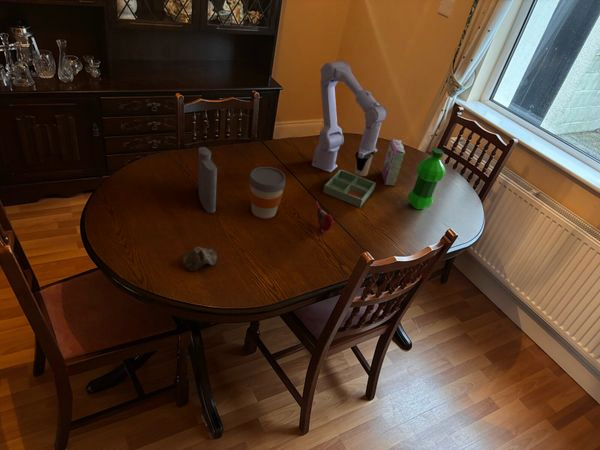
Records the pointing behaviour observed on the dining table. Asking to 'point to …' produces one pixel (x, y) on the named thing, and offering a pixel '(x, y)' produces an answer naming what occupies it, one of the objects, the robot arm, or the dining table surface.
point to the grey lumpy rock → (199, 258)
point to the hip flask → (207, 180)
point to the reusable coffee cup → (266, 191)
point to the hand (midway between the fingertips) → (362, 167)
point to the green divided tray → (349, 188)
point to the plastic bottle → (427, 180)
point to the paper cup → (366, 167)
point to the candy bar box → (393, 162)
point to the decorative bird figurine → (324, 219)
